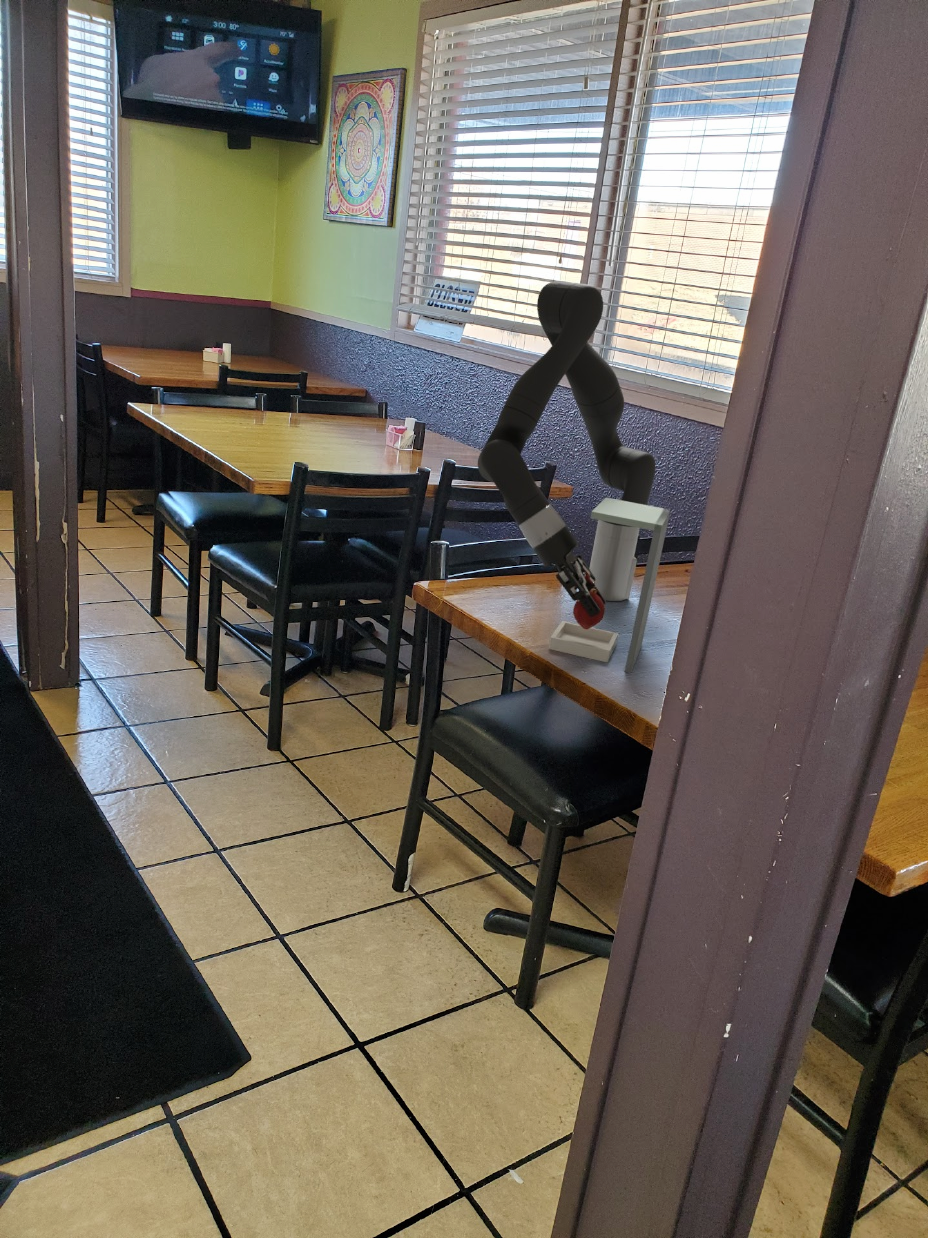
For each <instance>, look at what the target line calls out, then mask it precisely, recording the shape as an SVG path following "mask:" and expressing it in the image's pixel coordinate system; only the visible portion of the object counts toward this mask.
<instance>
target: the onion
mask: <svg viewBox="0 0 928 1238" xmlns="http://www.w3.org/2000/svg"><path fill="white" fill-rule="evenodd" d="M596 592H597V590H596V589H591V590H590V592H589V594H590V595H591V596H592V598H593V599H594V601H595V602H596V604H597V605H598V607H599V608H600V612H599V614H597V615H595V616H594V617H590V616H589V615H588V613H587V612H586V610H585V609H584V607H583V606H582V604H581V603H580V601H579V602H578V601H577V600H576V601H575V604H574V606H573V613H572V614H573V618H574V619H575V621H576V622H577V624H579V625H580V626H581V627H582V628H583V629H589V628H591V627H592V628H594V627H595V626H597V625H598V624H600V623H601V622H602V621H603V619H604V617H605V613H606V612H605V611H606V606H605V604H604V603H603V601H602V600H601V598H600V597H599V596H598V595H597V593H596Z"/></svg>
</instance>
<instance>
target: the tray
mask: <svg viewBox="0 0 928 1238" xmlns="http://www.w3.org/2000/svg"><path fill="white" fill-rule="evenodd" d="M618 638H619V633H618V632H613V631H608V630H605V629H600V628H595V627H591V628H589V629H583V628H582V627H581V626H580V625H579V624H578V623H574V622H569V621H565V620H562V621H561V622H560V623H559V625H558V627H556V629H555V630H554V632H553V633H552V635H551V636H550V639H549V646H548V650H552V651H557V652H560V653H565V654H570V655H573V656H578V657H582V658H587V659H591V660H595V661H599V662H603V663H609V661H610V659H611V656H612V654H613V652H614V650H615V649H616V646H617V643H618Z"/></svg>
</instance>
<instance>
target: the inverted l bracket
mask: <svg viewBox="0 0 928 1238" xmlns="http://www.w3.org/2000/svg"><path fill="white" fill-rule="evenodd" d="M670 513H671V509H669V508H668V509H667V508H665V507H664V508H662V507H658V506H653V505H649V504H647V505H643V504H637V503H632V502H627V501H622V500H621V499H615V498H611V497H605V498H603V500H602V501H601V502H600V503H599V504H597V505H596V507H595V508H593V510H591V514H590V519H592V520H597V521H598V520H602V521H607V522H612V523H617V524H622V525H627V526H632V527H637V528H640V529H643V530H648V531H653V533H652V538H651V542H650V547H649V552H648V557H647V562H646V565H645V566H646V567H645V570H644V576H643V580H642V586H641V589H640V595H639V600H638V604H637V610H636V615H635V619H634V623H633V627H632V628H633V629H632V633H631V638H630V641H629V648H628V652H627V653H628V654H627V658H626V663H625V666H624V667H625V668H624V672H626V673H630V674H631V673H632V671H633V669H634V668H635V664H636V661H637V659H638V656H639V654H640V651H641V649H642V646H643V641H644V637H645V632H646V627H647V623H648V617H649V613H650V609H651V604H652V601H653V600H652V599H653V594H654V589H655V585H656V580H657V576H658V570H659V566H660V561H661V557H662V552H663V547H664V542H665V538H666V533H667V529H668V523H669V520H670V519H669V518H670V515H671V514H670Z"/></svg>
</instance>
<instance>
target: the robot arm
mask: <svg viewBox="0 0 928 1238" xmlns="http://www.w3.org/2000/svg"><path fill="white" fill-rule="evenodd" d="M536 309H537V315H538V317H537V318H538V319H539V324H540V325H541V327H542V330H543V332H544V333H545V336H546V337H547V339H548V341H549V343H550V345H551V347H550V348H549V349H548V350H547V351H546V352H545V353H544V354H543V355H542V356H541V357H540V358H539V359H538V360H537V361H536V362H535V363H534V364H533V365H532V366H530V367H529V368H528V369H527V370H526V371H525V372H524V373H523V374H521V376H520V377H519V378H518V379H517V381H516V382H515V384H514V385H513V387H512V388H511V389H510V393H509V394H508V396H507V399H506V401H505V403H504V405H503V406H502V409H501V411H500V412H499V413H500V414H499V416H498V419H497V422H496V424H495V426H494V427H493V430H492V431H491V433H490V435H489V437H488V439H487V440H486V443H485V444H484V446H483V448H482V450H481V452H480V453H479V455H478V458H477V469H478V472H479V474H480V475H481V477H482V478H484V480H486V481H488V482H490V483H494V485H495V487H496V488H497V490H498V491H499V493H500V494H501V495H502V498H503V500H504V505H505V507H506V509H507V510H508V512H509V514H510V515H511V516H512V518H513V519H514V521H515V523H516V524H517V525H518V527H519V529H520V531H521V533H522V534H523V536H524V538H525V540H526V541H527V542H528V544H529V546H530V547H531V548H532V550H533V552H534V553H535V555H536V556H537V557H538V558H539V560H540V562H541V563H542V564H543V566H544V567H550V566H552V565H553V564H554V565H555V567H556V569H557V570H558V572H557V574H555V577H556V580H557V581H558V582H559V583H560V585H561V586H562V587H563V588H564V590H565V591H566V592H567V594H568V595H569V596H570V598H571V599H572V601H574V602H576V601H578V602H579V601H580V603H581V604H582V606H583V607H584V609H585V610H586V612H587V613H588V615H589V616H590V617H594V616H595V615H597V614H599V612H600V608H599V607H598V605H597V604H596V602H595V601H594V599H593V598H592V596H591V595H590V594H589V592H590V590H591V589H596V590H597V592H596V593H597V595H598V596H599V597H600V598H601V600H602V601H603V603H604V605H605V604H606V602H608V601H609V602H621V601H624V600H629V599H630V597H631V591H632V586H633V582H634V576H635V571H636V567H637V562H638V560H637V558H636V557H635V553H636V548H637V543H638V539H639V533H640V529H641V528H637V527H632V526H627V525H622V524H617V523H612V522H607V521H602V520H597V526H596V531H595V536H594V537H595V538H594V542H593V548H592V553H591V559H590V564H589V565H588V564H587V562H586V561H585V559H584V558H583V555H582V554H581V553H579V554H577V555H576V554H574V553H573V551H574V550H575V549H576V548H577V547H578V546H579V542H578V540H577V539H576V537H575V536H574V534H573V533H572V532H571V530H570V529H569V527H568V526H567V524H566V523H565V521H564V520H563V519H562V516H561V515H560V514H559V513H558V512H557V511H556V509H555V508H554V507H553V506H552V504H550V501H549V500H548V498H546V497H547V496H545V494H544V492H542V490H541V488H539V486H538V485H537V483H536V481H535V480H534V478H533V476H532V473H531V471H530V470H529V467H528V466H527V464H526V461H525V460H524V458H523V456H522V455H521V454H522V452H523V449H524V448H525V445H526V443H527V441H528V439H529V438H530V437H531V436H532V434H533V433H534V431H535V429H536V428H537V425H538V424H539V421H540V419H541V418H542V415H543V413H544V411H545V409H546V407H547V405H548V402H549V401H550V399H551V397H552V395H553V394H554V392H555V390H556V388H557V386H558V385H559V384H560V382H561V380H562V379H563V378H564V376H566V379H567V381H568V384H569V385H570V389H571V392H572V395H573V398H574V400H575V403H576V405H577V408H578V411H579V413H580V415H581V418H582V420H583V422H584V425H585V427H586V428H585V429H586V430H587V433H588V437H589V439H590V442H591V446H592V449H593V453H594V456H595V462H596V465H597V469H598V472H599V473H598V474H599V475H600V479H601V480H602V482H603V483H604V484H605V485H606V486H607V487H610V488H612V489H616V490H620V491H623V492H622V496H621V499H620V500H622V501H627V502H632V503H637V504H643V505H649V499H650V495H651V490H652V488H653V484H654V479H655V475H656V460H655V458H654V456H653V454H651V453H649V452H646V451H643V450H640V449H635V448H630V447H628V446H627V447H626V446H625V445H624V444H623V443H622V441H621V439H620V436H619V434H618V430H617V428H618V426H619V423H620V421H621V418H622V416H623V413H624V408H625V398H624V394H623V391H622V388H621V385H620V383H619V380H618V377H617V375H616V373H615V371H614V370H613V368H612V367H611V366H610V364H609V363H608V362H607V361H606V360H605V359H604V358H603V356H602V355H600V354H599V352H598V351H596V350H595V348H593V346H592V345H591V344H590V343H589V342H588V341H589V340H590V339H591V337H592V336H593V334H594V333H595V332H596V330H597V328H598V327H599V323H600V321H601V318H602V317H603V312H604V299H603V295H602V293H601V291H600V290H599V289H598V288H597V287H596V286H594V285H592V284H587V283H578V282H569V281H552V282H549V283H547V284H545V285H544V286H543V287H542V288H541V290H540V292H539V294H538V296H537V305H536ZM577 590H578V591H577Z"/></svg>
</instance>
